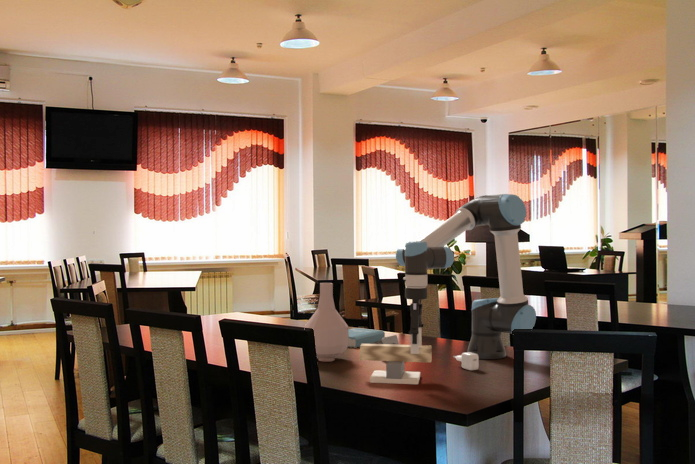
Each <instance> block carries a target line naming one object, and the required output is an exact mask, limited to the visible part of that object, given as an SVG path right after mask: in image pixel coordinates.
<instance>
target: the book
mask: <svg viewBox="0 0 695 464" xmlns="http://www.w3.org/2000/svg"><path fill="white" fill-rule="evenodd" d="M348 332H349V344H348V346H347V348H352V347H354V348H353V349H358V348H360V345H361V344H378V341H380V340H382V338H384V337H386V332H385V331H384V330H380V329H372V328H371V329H369V328H363V327H362V328H360V327H354V328H348ZM357 347H358V348H357Z"/></svg>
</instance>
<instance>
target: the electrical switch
mask: <svg viewBox="0 0 695 464" xmlns="http://www.w3.org/2000/svg"><path fill="white" fill-rule="evenodd" d="M377 344H397V345H400V343H399V339H398V335H397V334H392V335H389V336H385V337H384V338H382V340H380V341H378V342H377Z"/></svg>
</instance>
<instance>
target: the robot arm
mask: <svg viewBox="0 0 695 464" xmlns="http://www.w3.org/2000/svg"><path fill="white" fill-rule="evenodd" d="M526 217H527V208H526V204H525V203H524V200H523V199H522V198H520V196H518V195H516V194H512V193H511V194H509V193H503V194H491V195H487V194H486V195H480V196H478V197H477V196H476V197H475V198H473V199H471V200H470V201H468V202H466V203H464V204H462V206H460V207H458V208H457V209H455V212H454V214H453V215H452V216H450V217H449V218H448V219H446V220H444V221H443V222H442V223H441V224H439V225H437V226H436V227H435V228H433V229H432V230H430V231H428V232H427V233H426V234H425V235H423V236H422V237H420V238H418V239H417V240H416V241H407V242H406V243H405V245H401V246H400V247H398V248H397V250H396V252H395V259H396V263H398V265H400V266H401V267H404V275H405V276H404V277H403V278H402V280H403V281H404V285H405V286H406V287H405V288H404V297H405V299H406V300H412V302H411V303H410V304H409V310H410V312H409V313H410V330H409V331H408V335H410V345H411V354H419V345H423V344H422V341H423V340H422V338H423V337H422V334H423V333H422V331H423V330H422V328H424V323H423V321H422V314H423V304H422V300H427V299H428V288H427V287H428V270H432V269H433V270H435V269H442V270H443V269H448V268H449V267H452V265H453V263H454V261H455V257H454V256H455V255H454V252H453V249H451V248H450V247H448V246H446V245H448V244H449V243H450V242H452V241H453V240H455V239H456V238H457V237H459V236H460V235H461V234H463V233H464V232H465V231H472V230H473V229H474V228H477V227H481V226H489V232H490V233H491V234H493V237H494V243H495V253H496V262H497V263H496V264H497V265H496V266H497V273H498V282H499V283H498V284H499V293H500V296H499V297H495V298H494V297H493V298H492V297H491V298H481V299H474V300H473V301H472V303H471V309H470V310H471V337H470V341H469V344H468V347H467V351H466V352H472V353H475V354H478V356H479V359H483V360H499V359H503V358H504V359H505V358H506V356H507V351H506V348H505V345H504V342H503V338H502V333H504V334H511V335H513V334H512V331H513V330H514V329H532V330H533V327H535V324H536V320H537V311H536V310H535V307H534V306H532V305H530V304H529V299H528V297H527V296H526V295H525V294H524V288H523V286H524V285H523V277H522V276H523V275H522V267H521V265H522V264H521V256H520V248H519V247H520V246H519V235H518V234H519V233H518V232H519V231H520V230H521V229H522V225H523V223H524V222H525V221H526Z"/></svg>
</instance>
